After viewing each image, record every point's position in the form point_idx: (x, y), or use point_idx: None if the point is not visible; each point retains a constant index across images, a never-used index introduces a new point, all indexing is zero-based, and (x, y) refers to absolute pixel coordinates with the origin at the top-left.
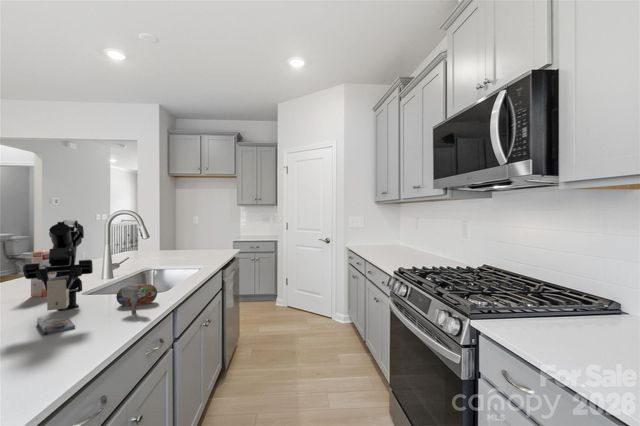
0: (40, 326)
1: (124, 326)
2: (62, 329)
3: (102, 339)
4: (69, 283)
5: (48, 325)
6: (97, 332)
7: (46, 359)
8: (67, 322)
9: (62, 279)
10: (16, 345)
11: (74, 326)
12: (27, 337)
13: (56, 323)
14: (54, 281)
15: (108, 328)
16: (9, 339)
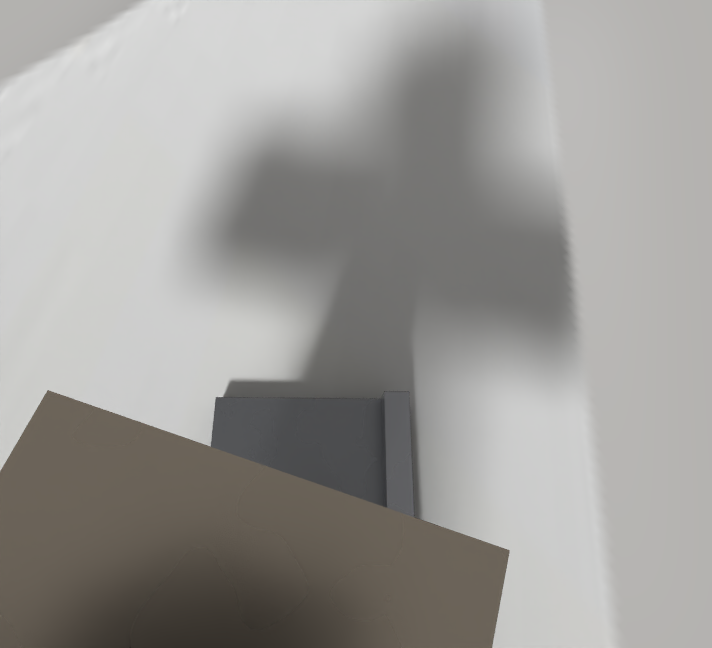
0: None
1: (3, 198)
2: (296, 398)
3: (184, 99)
4: None
5: None
6: (156, 214)
7: (422, 58)
8: None
9: (114, 466)
10: (533, 335)
11: (221, 397)
12: (485, 448)
13: None
14: (321, 493)
15: (81, 235)
16: (579, 498)
